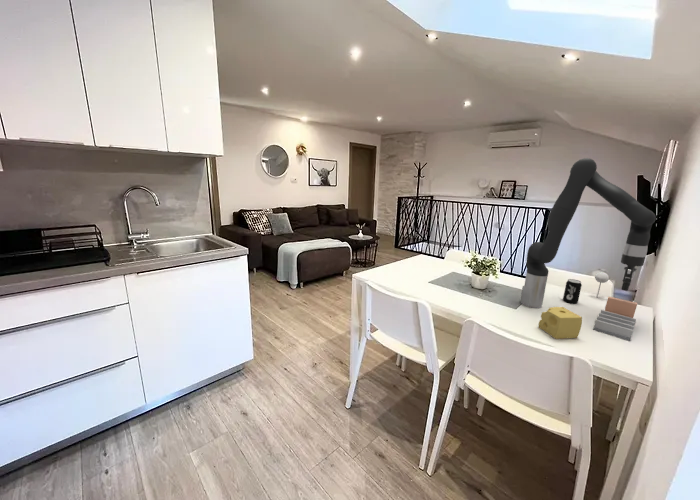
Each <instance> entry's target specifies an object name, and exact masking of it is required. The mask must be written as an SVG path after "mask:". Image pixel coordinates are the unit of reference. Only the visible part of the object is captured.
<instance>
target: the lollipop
mask: <svg viewBox="0 0 700 500" xmlns="http://www.w3.org/2000/svg"><path fill="white" fill-rule="evenodd" d="M594 280H595V281H596V282H598V283H599V285H598V290H597V294H596V299H598V298H599V294H600V293H599V292H600V288H601V284H604V283H605V284H606V283H607V282H608V281H609V280H610V276H609V274H608V273H606V272H603V271H602V272H601V271H600V272H597V273H596V274H595V275H594Z"/></svg>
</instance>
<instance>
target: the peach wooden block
mask: <svg viewBox="0 0 700 500" xmlns="http://www.w3.org/2000/svg"><path fill="white" fill-rule="evenodd" d="M637 306H638V302H636V301H631V300H626V299H622V298H617V297H613V296H610V295H609V296H608V297H607V300H606V304H605V308H604V311H608V312H611V313H615V314H619V315H623V316H627V317H631V318H634V316H635V312H636V309H637Z"/></svg>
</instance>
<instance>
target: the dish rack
mask: <svg viewBox="0 0 700 500" xmlns="http://www.w3.org/2000/svg"><path fill="white" fill-rule="evenodd" d="M596 317H597V318H596V319H595V320H594V325H593V327H592V330H593V331H595V332H598V333H601V334H605V335H609V336H612V337H615V338H618V339H621V340H625V341H628V342H630V341H631V338H632V335H633V332H634V329H635V325H636V321H637V318H634V317H633V318H631V317H627V316H623V315H619V314H615V313H611V312H608V311H605V309H603V310H602V309H600V311H599V313H598V315H597V316H596Z"/></svg>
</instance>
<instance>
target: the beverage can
mask: <svg viewBox="0 0 700 500" xmlns="http://www.w3.org/2000/svg"><path fill="white" fill-rule="evenodd" d="M582 286H583V285H582V281H581V280H578V279H575V278H568V279H567V281H566V282H565V287H564V292H563V297H562V300H563V301H564V302H566V303H569V304H572V305H573V304H577V303H579V299H580V295H581V289H582Z"/></svg>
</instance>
